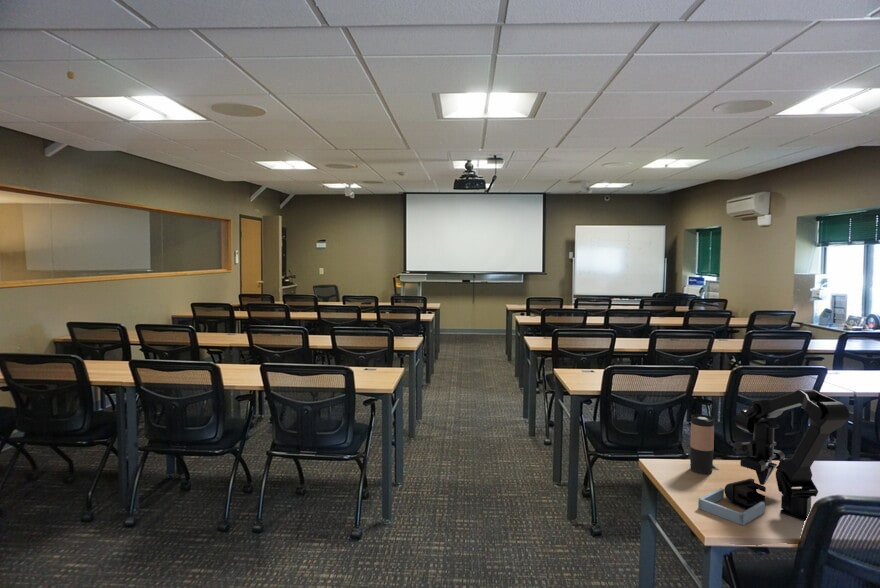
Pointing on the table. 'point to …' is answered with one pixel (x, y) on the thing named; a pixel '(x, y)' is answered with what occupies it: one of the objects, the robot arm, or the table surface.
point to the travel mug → (702, 443)
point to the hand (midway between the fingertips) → (762, 484)
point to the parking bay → (741, 518)
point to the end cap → (744, 493)
